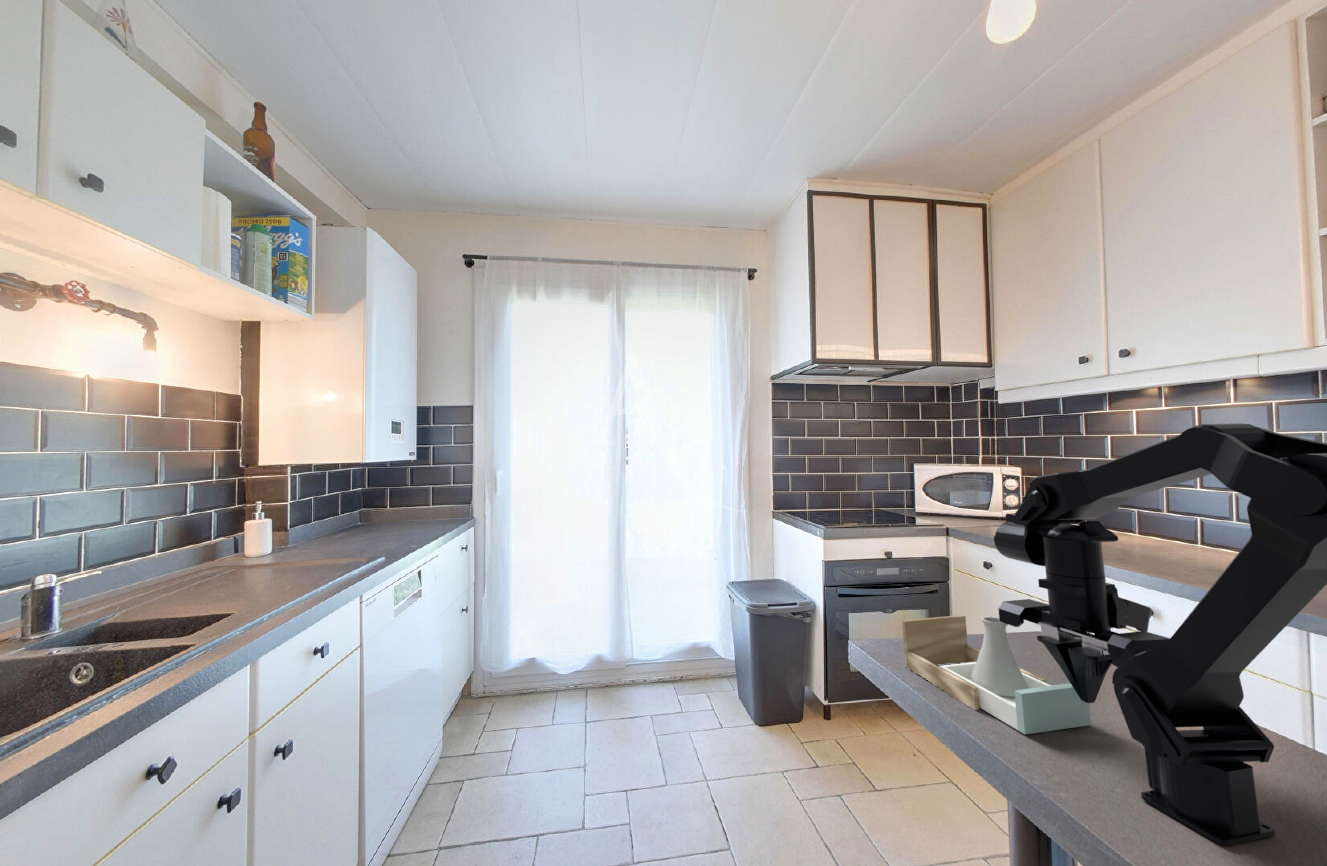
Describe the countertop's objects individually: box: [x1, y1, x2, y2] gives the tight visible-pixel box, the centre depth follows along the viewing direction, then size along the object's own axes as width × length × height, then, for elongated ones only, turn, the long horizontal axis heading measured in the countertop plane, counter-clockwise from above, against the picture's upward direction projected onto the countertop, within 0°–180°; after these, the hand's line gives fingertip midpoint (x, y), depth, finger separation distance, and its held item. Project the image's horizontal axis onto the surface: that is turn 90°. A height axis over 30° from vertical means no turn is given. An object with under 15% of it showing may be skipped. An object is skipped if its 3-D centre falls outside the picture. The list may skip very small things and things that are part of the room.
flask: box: [970, 616, 1029, 697], centre depth 71 cm, size 7×7×10 cm
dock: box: [901, 614, 1046, 711], centre depth 75 cm, size 15×12×8 cm
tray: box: [938, 662, 1092, 735], centre depth 68 cm, size 15×10×5 cm
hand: (1088, 701), depth 58 cm, fingers closed
